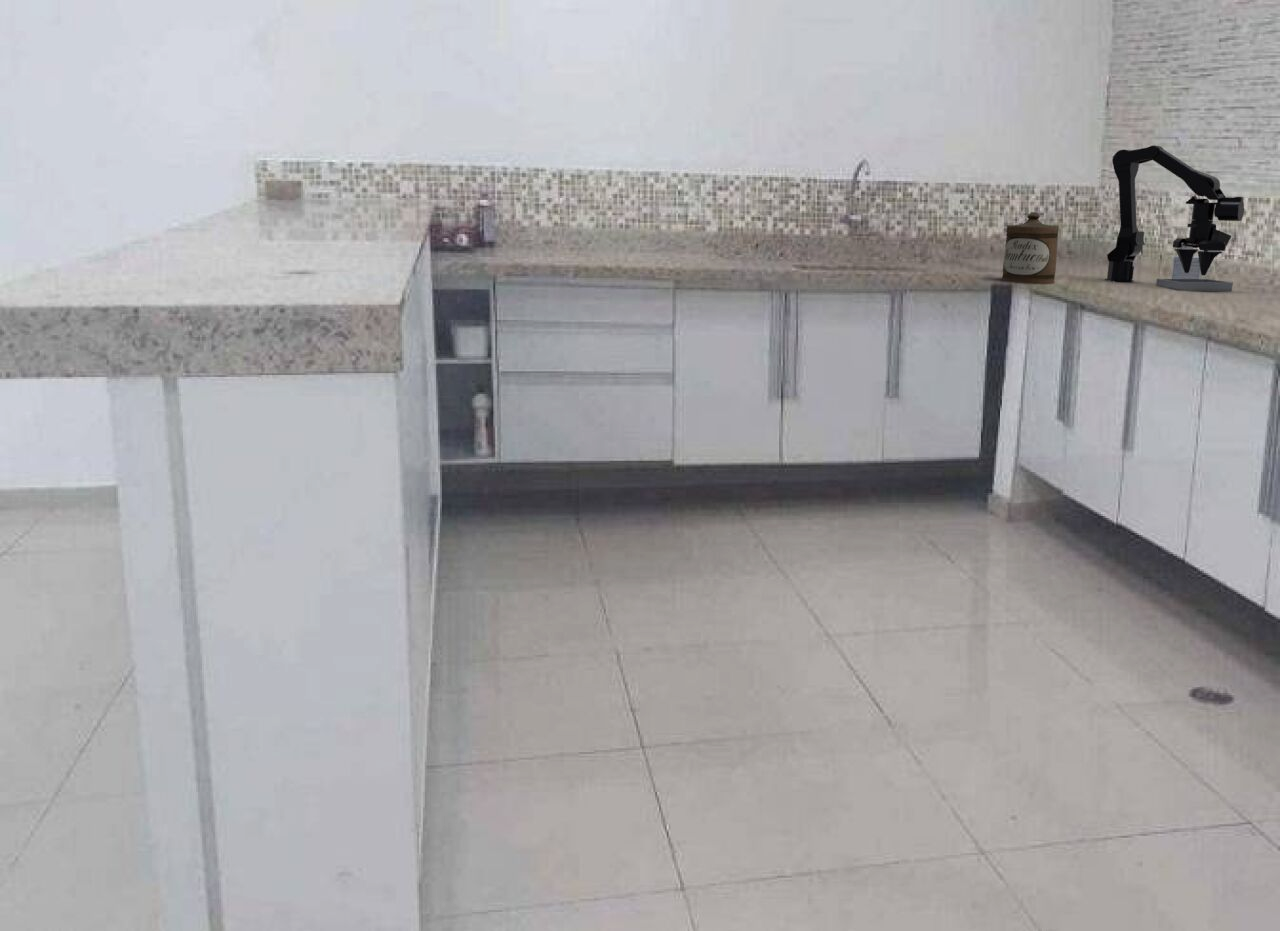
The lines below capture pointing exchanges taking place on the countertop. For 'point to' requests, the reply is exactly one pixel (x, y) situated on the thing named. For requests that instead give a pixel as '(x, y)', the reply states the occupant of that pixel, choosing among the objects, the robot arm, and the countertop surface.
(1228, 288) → the tray
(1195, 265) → the medicine box
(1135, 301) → the countertop surface
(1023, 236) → the wooden container
